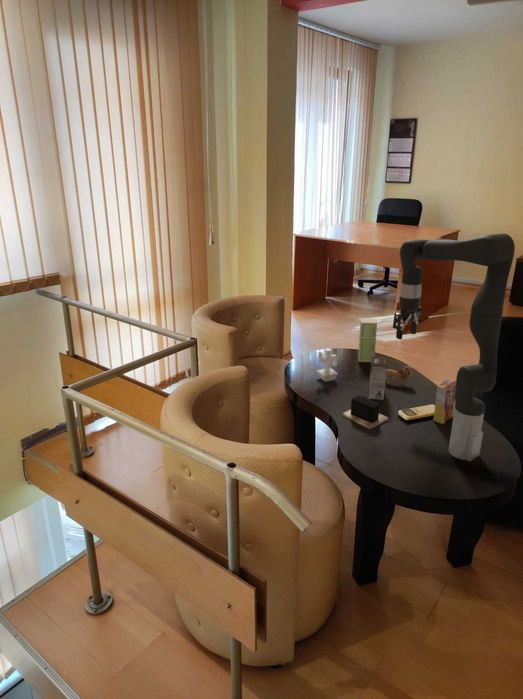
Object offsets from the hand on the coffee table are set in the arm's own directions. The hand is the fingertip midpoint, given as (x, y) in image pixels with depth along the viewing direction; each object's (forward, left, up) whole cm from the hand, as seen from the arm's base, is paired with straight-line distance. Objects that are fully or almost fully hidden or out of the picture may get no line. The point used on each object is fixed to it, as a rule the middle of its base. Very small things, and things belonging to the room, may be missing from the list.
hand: (406, 336), depth 190 cm
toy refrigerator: (+44, -32, -33) cm, 64 cm away
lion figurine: (+18, -22, -33) cm, 44 cm away
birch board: (+6, +13, -33) cm, 36 cm away
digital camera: (+6, +14, -32) cm, 36 cm away
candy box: (-14, -10, -33) cm, 37 cm away
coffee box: (+16, -6, -33) cm, 37 cm away
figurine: (+41, -1, -33) cm, 53 cm away
